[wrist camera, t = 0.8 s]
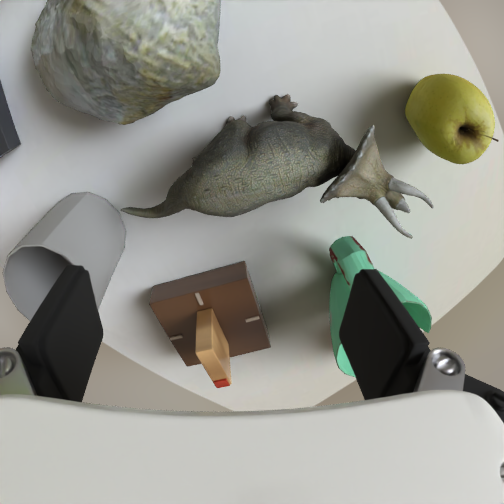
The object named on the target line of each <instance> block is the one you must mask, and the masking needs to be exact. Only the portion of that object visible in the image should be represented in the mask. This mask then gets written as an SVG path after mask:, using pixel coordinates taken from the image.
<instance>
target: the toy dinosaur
mask: <svg viewBox="0 0 504 504" xmlns="http://www.w3.org/2000/svg"><path fill="white" fill-rule="evenodd" d="M269 104H270V106H271V111H272V114H271V118H272V119H273V121H267V122H262V123H259V124H258V125H256V126H255V127H251V126H249V125H248V123H247V122H246V117H245V116H242V117H241V118H240V119H238V120H235V119H234V118H233V117H232V116H231V117H229V119H228V121H227V125H226V126H225V127H224V129H223V130H222V131H221V132H220V133H219V134H218V135H217V136H216V137H215V138H214V139H213V140H212V141H211V143H210V144H209V145H208V146H207V147H206V148H205V149H204V150H203V151H202V153H201V154H200V155H199V156H198V157H197V158H195V157H194V158H193V164H192V167H191V168H190V169H189V170H188V171H186V173H184V174H183V175H182V176H181V177H179V178H178V179H177V180H176V181H175V182H174V183H173V185H172V186H171V188H170V190H169V192H168V194H167V197H166V200H165V201H164V202H162V203H161V204H159V205H157V206H155V207H152V208H146V209H142V208H133V207H128V208H123V209H121V211H123V212H126V213H128V214H131V215H135V216H139V217H145V218H161V217H166V216H170V215H172V214H175V213H178V212H180V211H182V210H184V209H191V210H196V211H198V212H201V213H203V214H207V215H213V216H223V217H234V216H237V215H241V214H244V213H246V212H249V211H251V210H254V209H256V208H258V207H260V206H262V205H264V204H266V203H269V202H273V201H276V200H280V199H285V198H290V197H292V196H294V195H296V194H298V193H300V192H301V191H302V190H304V189H305V188H306V187H316V186H319V185H321V184H323V183H325V182H327V181H329V180H330V179H332V178H334V177H336V176H338V177H337V178H336V179H335V180H334V181H333V182H332V183H331V185H330V186H329V187H328V188H327V190H326V191H325V192H324V194H323V196H322V198H321V199H320V202H321V203H322V202H323V203H324V202H326V201H327V200H328V201H329V200H330V199H332V198H335V197H336V198H339V197H357V198H359V199H366V200H368V201H370V202H371V203H372V204H373V205H375V206H376V207H377V208H378V209H379V210H380V212H381V213H382V214H383V215H384V216H385V218H386V219H387V220H388V221H389V222H390V223H391V224H392V225H393V226H394V227H395V228H396V229H397V231H399V232H400V233H401V234H403V235H404V236H406V237H409V238H412V235H410V234H409V233H407V232H406V231H405V230H404V229H403V228H402V226H401V225H400V223H399V221H398V219H397V217H396V215H395V213H394V211H393V209H396V210H401V211H404V212H407V213H410V209H409V207H408V205H407V203H406V202H405V199H404V197H403V196H402V195H401V193H402V194H406V195H411V196H416V197H419V198H421V199H423V200H424V201H425V202H426V203H427V204H428V205H429V206H430V207H431V208H434V207H433V204H432V202H431V201H430V199H429V198H428V197H427V196H426V195H425V194H423V193H422V192H421V191H419V190H418V189H416V188H415V187H413V186H411V185H409V184H406V183H404V182H402V181H399V180H397V179H395V178H394V177H393V176H392V175H390V174H389V173H388V172H387V171H386V170H385V168H384V167H383V164H382V162H381V159H380V155H379V151H378V148H377V144H376V141H375V139H374V130H375V126H374V125H372V126H371V127H370V128H369V129H368V130H367V132H366V133H365V135H364V136H363V138H362V140H361V142H360V144H359V146H358V148H357V150H356V151H355V150H354V149H353V148H351V147H350V146H348V145H346V144H345V143H344V141H343V139H342V138H341V137H340V136H339V134H338V133H337V132H336V131H335V130H334V129H333V128H332V127H331V125H330V123H329V122H327V121H326V120H324V119H321V118H316V117H311V116H309V115H307V114H305V113H301V112H296V111H292V110H293V109H294V108H295V107H297V105H298V103H296V102H290V95H288V94H287V95H285V96H284V97H283V98H280V97H279V96H278V95H275V96H274V100H270V101H269ZM392 208H393V209H392Z"/></svg>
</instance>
